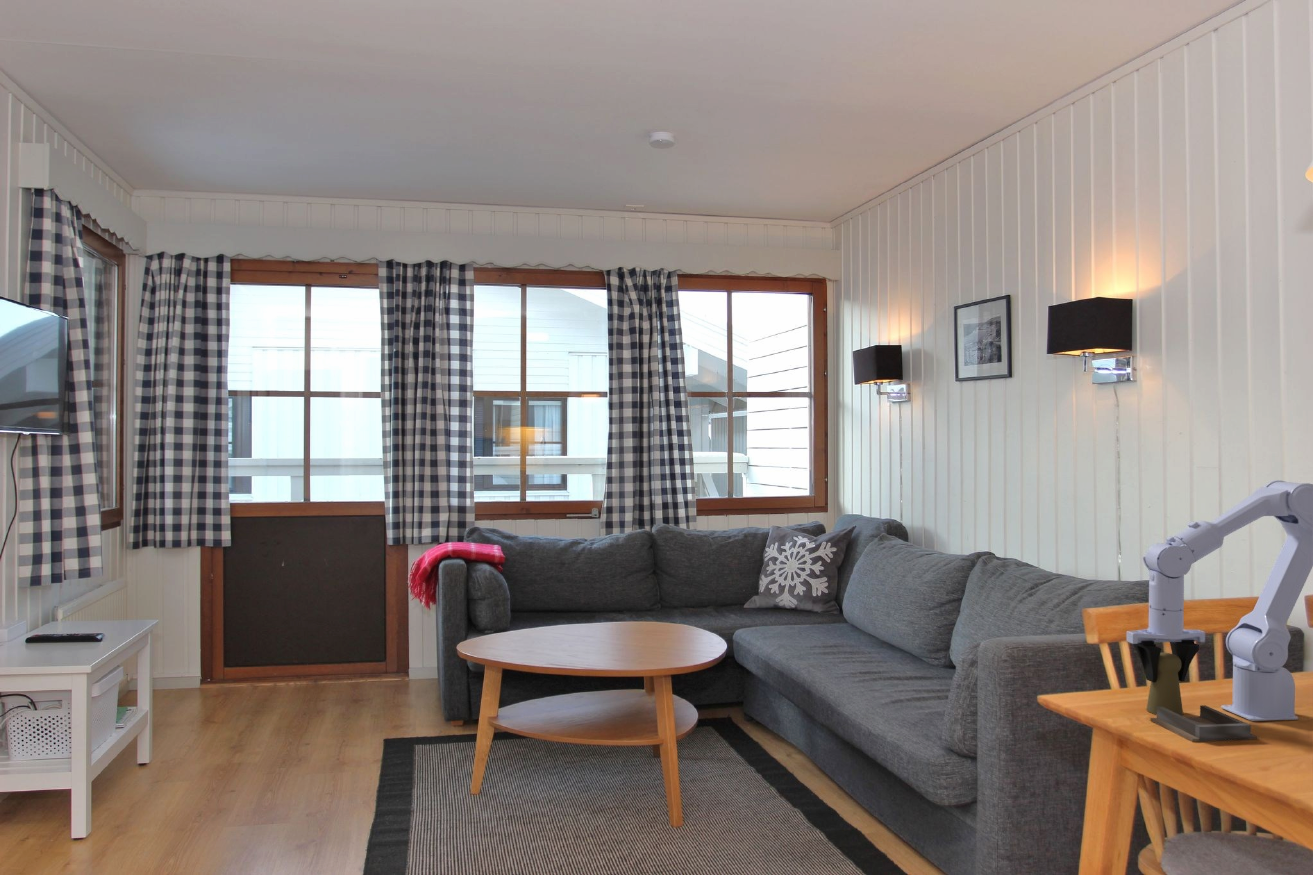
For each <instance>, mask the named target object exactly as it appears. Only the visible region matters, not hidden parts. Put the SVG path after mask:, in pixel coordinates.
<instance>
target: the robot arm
mask: <svg viewBox="0 0 1313 875" xmlns="http://www.w3.org/2000/svg"><path fill="white" fill-rule="evenodd" d="M1263 517H1274V518H1275V519H1276V520H1277V521H1278V522H1279V523H1280V524H1281V526H1282V528H1283V529H1284V531H1285V533H1286V534H1287V537H1286V539H1285V541H1284V542H1283V546H1282V548H1281V549H1280V551H1279V554H1278V556H1277V558H1276V560H1275V562H1274V564H1273V566H1272V569H1271V571H1270V573H1269V576H1268V578H1267V580H1266V582H1265V584H1264V587H1263V588H1262V590H1261V591H1260V592H1261V593H1260V594H1259V597H1258V598H1257V599H1258V600H1256V604H1255V606H1254V608H1253V610H1252V611H1251V612H1249V613H1247V614H1244V616H1242V617H1241V618H1240V619H1239V622H1238V624H1237V625H1236V626H1235V627H1233V628H1232V629H1231V630H1230V631H1229V632H1228V634H1227V636H1226V637H1225V645H1226V649H1227V651H1228V652H1229V653H1230V655H1232V704H1224V705H1223V704H1221V706H1220V708H1221V709H1223V710H1226V711H1228V712H1229V713H1233V714H1235V715H1237V716H1239V717H1242V718H1244V719H1247V720H1249V721H1253V722H1259V721H1260V722H1261V721H1264V722H1265V721H1286V720H1287V721H1293V720H1294V721H1295V720H1298V719H1299V717H1298V716H1297V715H1295V714H1296V709H1295V708H1296V705H1295V704H1296V682H1295V679H1294V676H1293V675H1292V673H1291V672H1290V671H1289V670H1288V669H1287V668H1285V667H1283V666H1285V664H1286V662H1287V661H1288V657H1289V650H1288V649H1289V648H1288V647H1289V643H1290V641H1291V639H1292V636H1291V634H1290V631H1289V629H1288V627H1287V622H1288V620H1289V619H1290V617H1291V614H1292V611H1293V609H1294V607H1295V606H1296V603H1297V601H1298V599H1299V596H1300V594H1301V592H1302V591H1303V588H1304V586H1305V584H1306V582H1307V580H1308V578H1309V576H1310V573H1311V571H1312V569H1313V483H1307V482H1306V483H1301V482H1300V483H1299V482H1290V481H1289V482H1288V481H1284V480H1279V479H1278V480H1272V481H1270V482H1268V483H1267V484H1266V485H1265V486H1261V487H1259V488H1257V489H1256V490H1254V491H1253V492H1252V494H1251V495H1249V496H1247V497H1246V498H1244V499H1243V500H1242V501H1240V502H1239V503H1237V504H1235V505H1234V506H1233V507H1231V508H1230V509H1228V510H1227V511H1225V512H1224V513H1222V514H1221V515H1219V516H1218V517H1216V518H1215V519H1213V520H1212V521H1210V522H1209V521H1206V520H1199V521H1191V522H1189V523H1188V524H1187V526H1188V527H1187V528H1186V529H1184V530H1182V531H1180V532H1179V533H1177V534H1176V535H1174V536H1171V535H1170V536H1168V537H1166V538H1165V539H1166V541H1165V543H1164V542H1158V543H1155V544H1152V545H1151V546H1150V547H1148V549H1147V551H1146V552H1145V556H1143V557H1142V561H1143V564H1144V566H1145V567H1146V569H1147V570H1148V572H1149V574H1148V576H1149V579H1148V581H1149V583H1148V627H1147V628H1144V629H1138V630H1127V631H1126V642H1128V643H1130V644H1132V646H1133V648H1134V649H1135V651H1136V653H1137V655H1138V657H1139V659H1140V662H1141V664H1142V668H1143V672H1144V677H1145V680H1146V681H1149V682H1150V683H1151V682H1156V681H1157V667H1158V660H1159V656H1160V653H1161V652H1162V650H1163V649H1162V647H1159V646H1157V643H1169V645H1170V649H1171V654H1174V655H1176V656H1178V657H1179V658H1180V660H1181V669H1180V671H1179V672H1178V678H1179V682H1186V676H1187V674H1188V670H1189V668H1190V665H1191V663H1192V661H1193V659H1194V657H1195V656H1196V654H1198V653H1199V651H1200V644H1198V642H1199V643H1205V642H1206V632H1205V631H1203V630H1201V629H1188V628H1187V629H1186V628H1184V624H1185V623H1184V622H1185V621H1184V615H1185V614H1184V611H1185V610H1184V609H1185V607H1184V606H1185V605H1184V603H1185V599H1184V598H1185V575H1187V574H1188V573H1189V572H1190V570H1191V568H1192V564H1194V563H1196V562H1198V561H1199V560H1202V559H1203V558H1205V557H1206V556H1208V555H1210V554H1211V553H1213V552H1215V551H1217V550H1218V549H1220V548H1222V546H1223V544H1224V538H1225V537H1226V536H1228V535H1230V534H1232V533H1234V532H1236V531H1237V530H1240V529H1242V528H1243V527H1245V526H1247V525H1250V524H1251V523H1254V522H1255V521H1257V520H1259V519H1261V518H1263ZM1195 642H1197V643H1195ZM1155 643H1156V644H1155Z"/></svg>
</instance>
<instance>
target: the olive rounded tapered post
mask: <svg viewBox="0 0 1313 875" xmlns="http://www.w3.org/2000/svg"><path fill="white" fill-rule="evenodd" d="M1180 669H1181V660H1180V658H1179V657H1178V656H1176V655H1174V654H1172V652H1165V651H1164V652H1162V651H1161V653H1160V656H1159V660H1158V667H1157V681H1156V682H1151V681H1150V687H1149V692H1148V696H1147V697H1148V698H1147V703H1146V711H1147V712H1148V713H1150V714H1153V715H1156V716H1157V707H1164V708H1166V709H1168V710H1170V711H1172V712H1174V713H1177V714H1179V715H1181V716H1182V715H1183V716H1184V712H1183V710H1184V709H1183V704H1182V703H1183V702H1182V694H1181V688H1180V681H1179V678H1178V672H1179V671H1180Z"/></svg>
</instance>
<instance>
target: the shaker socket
mask: <svg viewBox="0 0 1313 875" xmlns="http://www.w3.org/2000/svg"><path fill="white" fill-rule="evenodd" d="M1149 721H1151V723H1154V724H1156V725H1158V726H1160V727H1163V728H1164V729H1166V730H1168V731H1170V732H1172V733H1174V734H1177V735H1178V736H1180V737H1182V738H1184V739H1186V740H1188V741H1189V742H1194V743H1195V742H1196V743H1197V742H1200V743H1201V742H1222V741H1223V742H1224V741H1251V740H1253V741H1254V740H1258V736H1257V735H1255V734H1252V733H1251V732H1252V731H1251V730H1252V725H1251V724H1249V723H1247V722H1245V721H1242V720H1241V719H1238V718H1235V717H1233V716H1231V715H1228V714H1226V713H1223V712H1221V711H1219V710H1217V709H1214V708H1212V707H1210V706H1208V705H1205V704H1204V705H1200V706H1199V716H1184V715H1183V716H1181V715H1179V714H1177V713H1174V712H1172V711H1170V710H1168V709H1166V708H1164V707H1157V715H1156V717H1150V720H1149Z"/></svg>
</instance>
